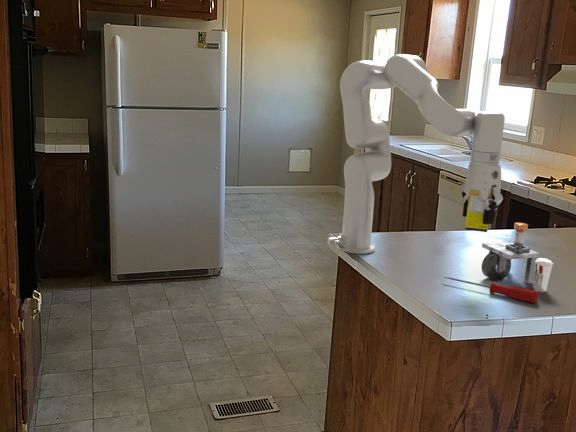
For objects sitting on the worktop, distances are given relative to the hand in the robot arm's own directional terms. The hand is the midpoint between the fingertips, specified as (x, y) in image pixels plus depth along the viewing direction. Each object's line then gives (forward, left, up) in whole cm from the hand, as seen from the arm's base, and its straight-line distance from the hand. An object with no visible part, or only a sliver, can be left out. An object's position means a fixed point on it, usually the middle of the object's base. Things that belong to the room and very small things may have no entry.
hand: (477, 219), depth 167 cm
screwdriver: (-1, -9, -19) cm, 21 cm away
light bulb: (+14, -2, -9) cm, 16 cm away
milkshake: (+16, -11, -18) cm, 27 cm away
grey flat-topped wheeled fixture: (+11, 0, -18) cm, 21 cm away
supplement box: (0, 0, -3) cm, 3 cm away
